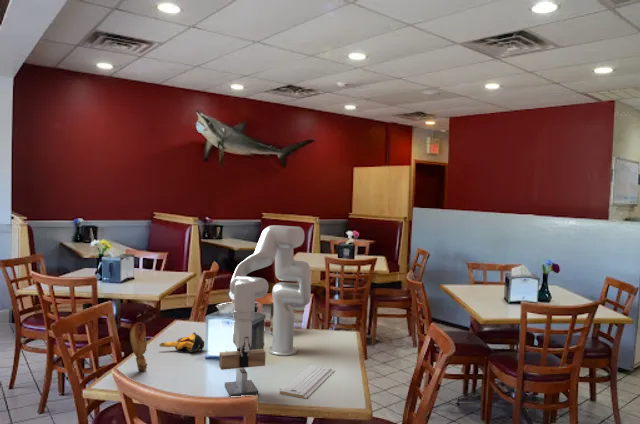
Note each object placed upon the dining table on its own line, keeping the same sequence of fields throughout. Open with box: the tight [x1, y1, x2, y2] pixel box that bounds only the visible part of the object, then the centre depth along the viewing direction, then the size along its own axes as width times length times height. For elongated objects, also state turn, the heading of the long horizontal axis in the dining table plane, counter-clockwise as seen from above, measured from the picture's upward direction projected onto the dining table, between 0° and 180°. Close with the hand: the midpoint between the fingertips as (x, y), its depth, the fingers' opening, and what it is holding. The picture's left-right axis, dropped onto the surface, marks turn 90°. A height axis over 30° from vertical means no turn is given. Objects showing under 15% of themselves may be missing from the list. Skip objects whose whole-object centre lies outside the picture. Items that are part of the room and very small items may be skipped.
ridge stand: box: [224, 368, 260, 397], centre depth 184 cm, size 11×10×8 cm
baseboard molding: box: [279, 364, 335, 400], centre depth 196 cm, size 31×3×12 cm
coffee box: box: [269, 302, 292, 336], centre depth 259 cm, size 9×6×16 cm
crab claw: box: [129, 321, 148, 372], centre depth 199 cm, size 7×5×20 cm
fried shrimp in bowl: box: [159, 332, 205, 354], centre depth 225 cm, size 9×11×18 cm
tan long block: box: [218, 348, 266, 371], centre depth 184 cm, size 4×16×5 cm, turn 111°
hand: (242, 364), depth 184 cm, fingers closed on tan long block, 3 cm apart
